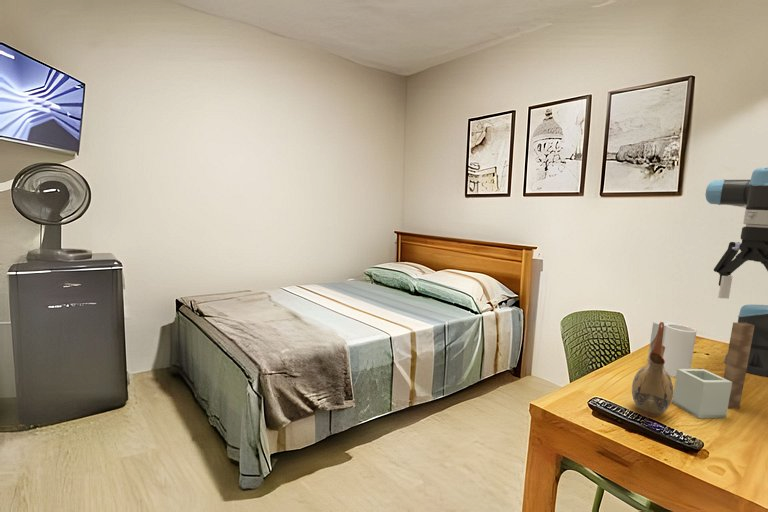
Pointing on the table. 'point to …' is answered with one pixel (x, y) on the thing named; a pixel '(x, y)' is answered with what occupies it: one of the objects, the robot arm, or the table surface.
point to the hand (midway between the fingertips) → (746, 304)
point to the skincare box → (654, 333)
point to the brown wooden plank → (738, 360)
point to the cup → (678, 347)
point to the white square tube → (701, 393)
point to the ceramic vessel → (653, 381)
